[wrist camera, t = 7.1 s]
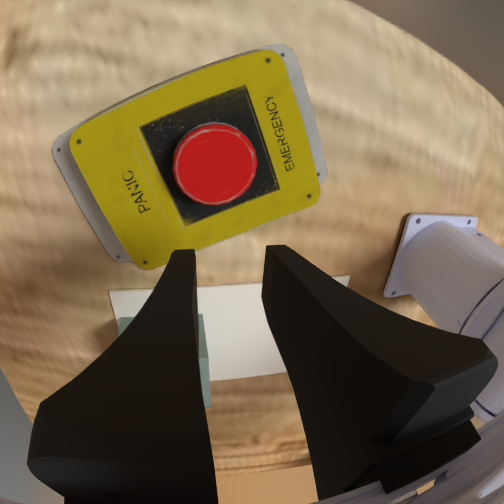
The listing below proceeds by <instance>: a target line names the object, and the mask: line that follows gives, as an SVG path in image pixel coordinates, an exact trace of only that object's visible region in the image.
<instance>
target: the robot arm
mask: <svg viewBox="0 0 504 504" xmlns="http://www.w3.org/2000/svg"><path fill="white" fill-rule="evenodd" d="M417 219H418V220H417ZM416 220H417V221H416ZM477 222H478V218H477V217H475V216H467V215H445V214H415V213H413V214H410V215H409V216H408V217H407V220H406V224H405V227H404V231H403V234H402V237H401V241H400V244H399V247H398V250H397V254H396V257H395V260H394V263H393V266H392V269H391V272H390V275H389V278H388V281H387V283H386V286H385V289H384V292H383V295H384V296H385V297H386V298H390V297H396V296H402V295H409V294H411V296H412V297H413V298H414V299H415V300H416V301H417V303H418V304H419V305H420V306H421V307H422V308H423V310H424V311H425V312H426V313H427V314H428V316H429V317H430V318H431V319H432V320H433V322H434V323H435V324H436V325H437V326H438V328H439V329H438V328H435V327H432V326H429V325H426V324H423V323H420V322H417V321H415V320H412V319H410V318H407V317H405V316H402V315H400V314H398V313H395V312H393V311H391V310H388V309H386V308H384V307H382V306H380V305H378V304H376V303H374V302H372V301H370V300H369V299H367V298H365V297H363V296H361V295H359V294H358V293H356V292H354V291H352V290H351V289H349V288H348V287H346V286H344V285H343V284H341V283H340V282H338V281H337V280H335V279H334V278H332V277H331V276H329V275H328V274H326V273H325V272H323V271H322V270H320V269H319V268H318V267H316V266H315V265H313V264H312V263H311V262H309V261H308V260H306V259H305V258H304V257H302V256H301V255H299V254H298V253H297V252H295V251H294V250H292V249H291V248H289V247H288V246H286V245H268V246H266V254H265V263H264V273H263V282H262V291H261V299H262V303H263V307H264V311H265V315H266V319H267V323H268V325H269V328H270V330H271V333H272V335H273V338H274V340H275V343H276V345H277V348H278V350H279V353H280V355H281V358H282V360H283V363H284V365H285V368H286V370H287V372H288V375H289V378H290V381H291V383H292V386H293V390H294V393H295V397H296V400H297V404H298V408H299V411H300V415H301V419H302V423H303V427H304V431H305V435H306V440H307V444H308V448H309V453H310V457H311V462H312V467H313V472H314V478H315V483H316V489H317V495H318V500H319V501H318V502H314V503H310V504H387V503H389V502H391V501H393V500H395V499H398V498H400V497H402V496H404V495H406V494H408V493H410V492H412V491H414V490H416V489H418V488H420V487H422V486H423V485H425V484H427V483H429V482H431V481H433V480H434V479H436V480H435V482H434V486H433V487H431V488H430V489H428V490H426V491H425V492H423V493H421V494H419V495H418V496H416V497H415V498H413V499H412V500H410V501H408V502H407V503H405V504H504V249H503V248H501V247H500V246H499V245H498V244H496V243H495V242H494V241H492V240H491V239H490V238H489V237H487V236H486V235H485V234H483V233H482V232H481V231H479V230H478V229H477V228H476V225H477ZM474 416H475V417H476V418H478V419H479V420H482V421H484V422H486V424H484V425H483V426H481V427H480V428H478V429H477V430H476V429H475V427H474V426H473V424H472V422H471V421H470V419H472V418H473V417H474ZM27 465H28V468H29V469H30V471H31V473H32V474H33V475H34V476H35V477H36V478H38V479H39V480H40V481H41V482H43V483H44V484H46V485H47V486H48V487H50V488H51V489H53V490H54V491H56V492H57V493H59V494H60V495H62V496H63V497H64V504H218V496H217V486H216V477H215V468H214V461H213V455H212V449H211V443H210V436H209V430H208V424H207V418H206V412H205V406H204V400H203V393H202V386H201V379H200V372H199V320H198V300H197V277H196V256H195V250H194V249H179V250H174V251H173V252H172V253H171V256H170V259H169V261H168V264H167V266H166V268H165V270H164V272H163V274H162V276H161V277H160V279H159V281H158V283H157V284H156V286H155V288H154V290H153V291H152V293H151V294H150V296H149V297H148V299H147V300H146V302H145V303H144V305H143V306H142V308H141V309H140V311H139V312H138V313H137V315H136V316H135V317H134V319H133V320H132V321H131V322H130V324H129V325H128V326H127V327H126V329H125V330H124V331H123V332H122V333H121V334H120V335H119V336H118V338H117V339H116V340H115V341H114V342H113V343H112V344H111V345H110V346H109V347H108V348H107V349H106V350H105V351H104V352H103V353H102V354H101V355H100V356H99V357H98V358H97V359H96V360H95V361H94V362H93V363H91V364H90V365H89V366H88V367H87V368H86V369H85V370H84V371H83V372H81V373H80V374H79V375H78V376H77V377H75V378H74V379H73V380H72V381H70V382H69V383H67V384H66V385H65V386H63V387H62V388H60V389H59V390H58V391H56V392H55V393H54V394H52V395H51V396H49V397H48V398H47V399H45V400H44V401H42V402H41V403H40V405H39V409H38V412H37V414H36V417H35V420H34V424H33V429H32V434H31V439H30V446H29V452H28V459H27ZM0 504H22V503H19V502H16V501H12V500H9V499H6V498H3V497H0Z"/></svg>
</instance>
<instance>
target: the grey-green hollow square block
mask: <svg viewBox="0 0 504 504" xmlns="http://www.w3.org/2000/svg"><path fill="white" fill-rule="evenodd" d="M133 319H134V317H120V323H119V330H118V336H119V335H120V334H121V333H122V332H123V331H124V330H125V329H126V327H127V326H128V325H129V324H130V322H131V321H132V320H133ZM198 320H199V372H200V379H201V386H202V393H203V400H204V406H205V407H211V394H210V377H209V357H208V350H207V343H206V336H205V328H204V321H203V314H198ZM118 336H117V338H118Z"/></svg>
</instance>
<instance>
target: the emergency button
mask: <svg viewBox="0 0 504 504" xmlns="http://www.w3.org/2000/svg"><path fill="white" fill-rule="evenodd" d="M52 151H53V157H54V159H55V161H56V163H57V165H58V167H59V169H60V171H61V173H62V175H63V177H64V179H65V181H66V182H67V184H68V186H69V188H70V190H71V192H72V194H73V195H74V197H75V199H76V201H77V203H78V204H79V206H80V208H81V210H82V212H83V213H84V215H85V217H86V218H87V220H88V222H89V224H90V225H91V227H92V229H93V230H94V232H95V234H96V235H97V237H98V239H99V240H100V242H101V243H102V245H103V247H104V248H105V250H106V251H107V253H108V255H109V256H110V257H111V258H112V259H113V260H114V261H117V262H121V263H124V262H129V261H132V262H133V263H134V264H135V265H136V266H137V267H138V268H140V269H142V270H145V271H146V270H153V269H155V268H158V267H160V266H162V265H165V264H167V263H168V261H169V259H170V256H171V253H172V252H173V251H174V250H179V249H194V250H195V252H197V251H199V250H202V249H204V248H207V247H209V246H212V245H214V244H217V243H219V242H222V241H224V240H227V239H229V238H232V237H234V236H237V235H239V234H242V233H244V232H247V231H250V230H252V229H255V228H257V227H260V226H262V225H265V224H267V223H270V222H272V221H275V220H278V219H280V218H283V217H285V216H288V215H291V214H293V213H296V212H298V211H301V210H304V209H306V208H309V207H311V206H312V205H314V204H315V203H317V201H318V199H319V197H320V184H321V183H323V181H324V179H325V178H326V176H327V165H326V160H325V156H324V152H323V148H322V144H321V140H320V136H319V132H318V128H317V124H316V120H315V117H314V113H313V109H312V106H311V102H310V98H309V95H308V92H307V88H306V85H305V81H304V78H303V75H302V71H301V68H300V65H299V62H298V59H297V55H296V54H295V52H294V51H293V50H292V48H290V47H288V46H285V45H283V44H280V45H270V46H266V47H262V48H259V49H255V50H251V51H248V52H244V53H241V54H238V55H234V56H231V57H228V58H225V59H222V60H219V61H216V62H213V63H210V64H207V65H204V66H202V67H199V68H196V69H193V70H191V71H188V72H186V73H183V74H180V75H178V76H175V77H173V78H170V79H168V80H166V81H163V82H161V83H159V84H156V85H154V86H152V87H150V88H147V89H145V90H143V91H141V92H139V93H137V94H134V95H132V96H130V97H128V98H126V99H124V100H122V101H120V102H118V103H116V104H114V105H112V106H110V107H108V108H106V109H105V110H103V111H101V112H99V113H97V114H95V115H94V116H92V117H90V118H88V119H86V120H85V121H83V122H81V123H80V124H78V125H76V126H74V127H73V128H71V129H69V130H68V131H66V132H65V133H63V134H61V135H60V136H59V137H58V138H57V139H56V140H55V142H54V145H53V148H52Z"/></svg>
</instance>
